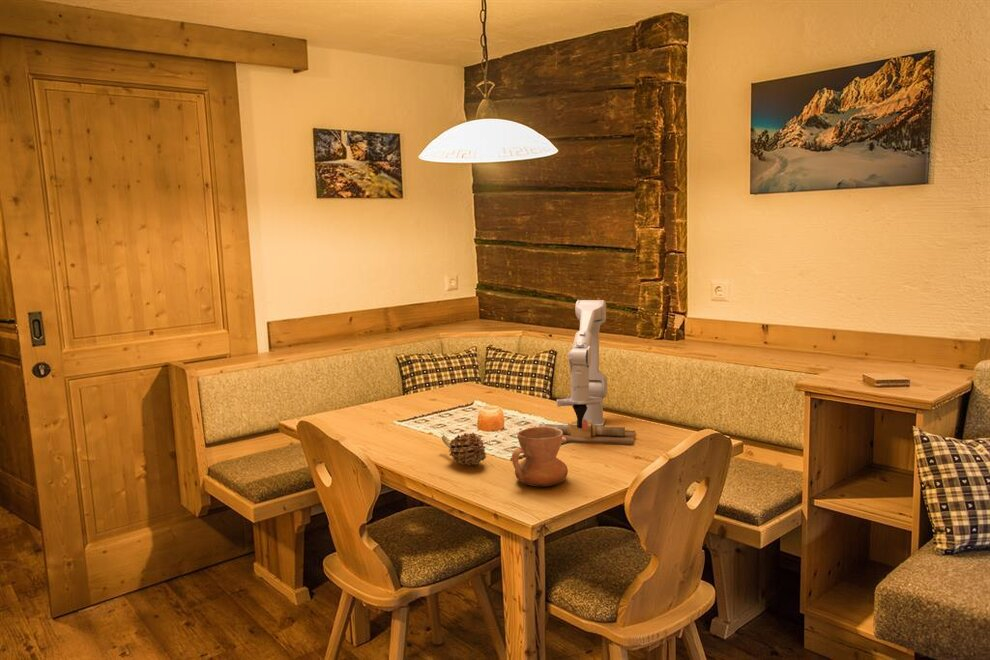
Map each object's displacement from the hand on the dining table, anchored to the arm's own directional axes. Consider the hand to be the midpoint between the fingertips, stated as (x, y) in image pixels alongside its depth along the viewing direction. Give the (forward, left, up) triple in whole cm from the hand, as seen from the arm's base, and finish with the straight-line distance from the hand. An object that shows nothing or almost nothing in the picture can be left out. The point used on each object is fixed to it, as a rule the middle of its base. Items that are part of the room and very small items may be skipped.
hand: (579, 427), depth 236 cm
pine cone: (+23, -33, -6) cm, 41 cm away
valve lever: (-3, +1, 0) cm, 3 cm away
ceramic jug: (+36, -7, -6) cm, 37 cm away
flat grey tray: (-8, 0, -6) cm, 10 cm away
